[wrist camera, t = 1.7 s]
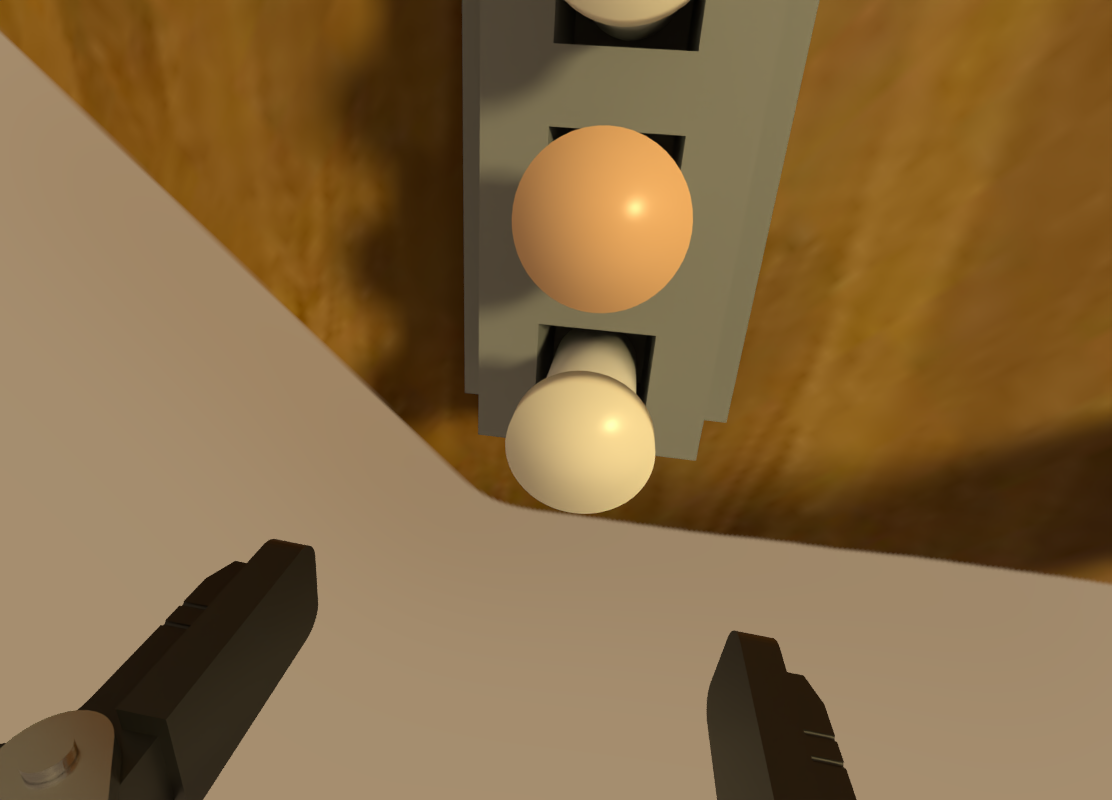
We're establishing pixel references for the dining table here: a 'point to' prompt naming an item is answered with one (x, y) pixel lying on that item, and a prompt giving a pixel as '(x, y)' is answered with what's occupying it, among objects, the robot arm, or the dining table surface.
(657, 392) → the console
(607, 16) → the knob near
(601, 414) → the knob far
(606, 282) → the knob mid
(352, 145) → the dining table surface
